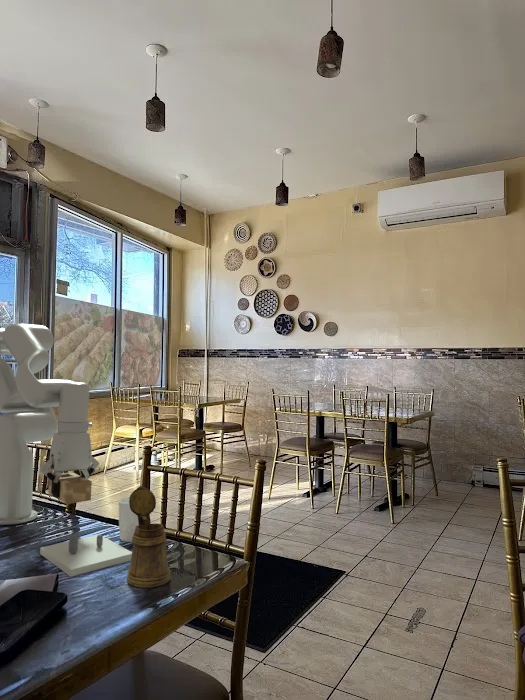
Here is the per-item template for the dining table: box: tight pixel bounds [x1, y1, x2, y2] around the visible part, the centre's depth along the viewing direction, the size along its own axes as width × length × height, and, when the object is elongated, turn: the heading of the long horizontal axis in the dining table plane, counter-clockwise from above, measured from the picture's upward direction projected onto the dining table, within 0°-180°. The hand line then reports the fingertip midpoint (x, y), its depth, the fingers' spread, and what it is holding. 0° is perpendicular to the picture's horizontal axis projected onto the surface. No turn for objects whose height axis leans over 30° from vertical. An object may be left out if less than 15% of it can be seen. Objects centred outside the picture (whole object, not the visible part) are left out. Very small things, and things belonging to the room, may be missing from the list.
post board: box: [39, 533, 132, 578], centre depth 120 cm, size 18×15×6 cm
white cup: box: [117, 496, 145, 543], centre depth 134 cm, size 8×8×10 cm
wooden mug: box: [126, 485, 172, 589], centre depth 110 cm, size 9×14×18 cm, turn 27°
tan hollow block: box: [47, 471, 92, 505], centre depth 135 cm, size 12×6×5 cm, turn 43°
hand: (69, 494), depth 135 cm, fingers closed on tan hollow block, 6 cm apart
